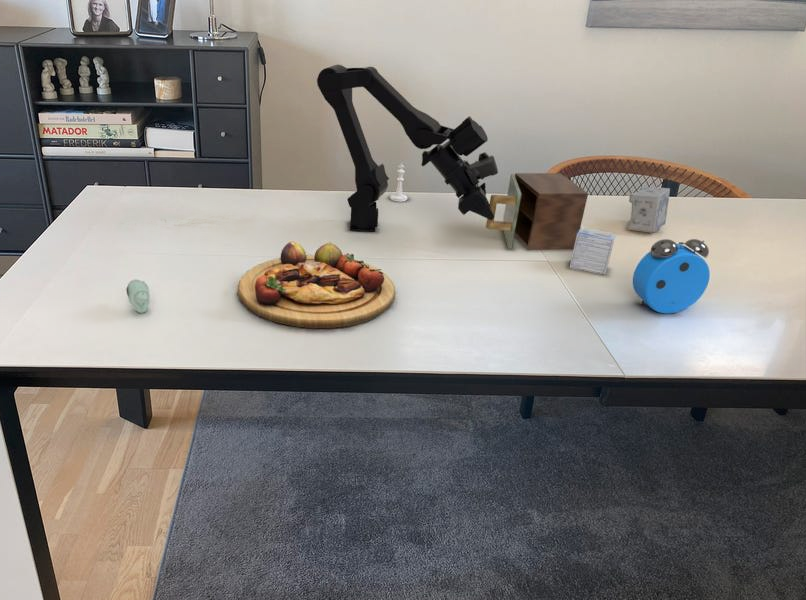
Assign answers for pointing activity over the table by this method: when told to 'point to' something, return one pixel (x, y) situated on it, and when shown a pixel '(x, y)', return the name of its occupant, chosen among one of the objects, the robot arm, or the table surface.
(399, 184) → the chess piece
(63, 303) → the table surface
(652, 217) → the incense holder
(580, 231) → the medicine box
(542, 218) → the cupboard
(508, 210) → the door
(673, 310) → the alarm clock
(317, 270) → the wooden plate
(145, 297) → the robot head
